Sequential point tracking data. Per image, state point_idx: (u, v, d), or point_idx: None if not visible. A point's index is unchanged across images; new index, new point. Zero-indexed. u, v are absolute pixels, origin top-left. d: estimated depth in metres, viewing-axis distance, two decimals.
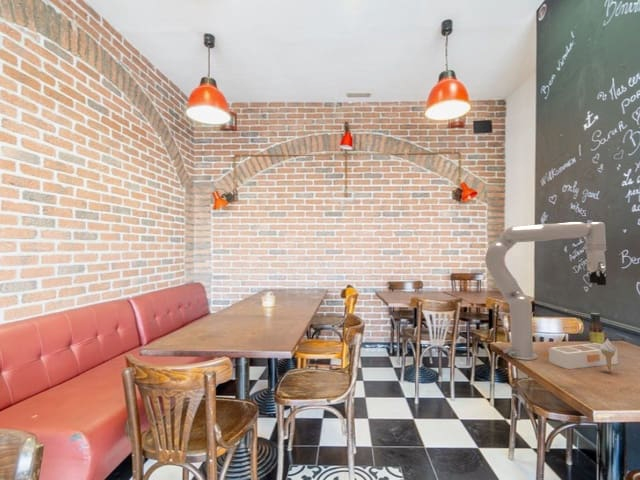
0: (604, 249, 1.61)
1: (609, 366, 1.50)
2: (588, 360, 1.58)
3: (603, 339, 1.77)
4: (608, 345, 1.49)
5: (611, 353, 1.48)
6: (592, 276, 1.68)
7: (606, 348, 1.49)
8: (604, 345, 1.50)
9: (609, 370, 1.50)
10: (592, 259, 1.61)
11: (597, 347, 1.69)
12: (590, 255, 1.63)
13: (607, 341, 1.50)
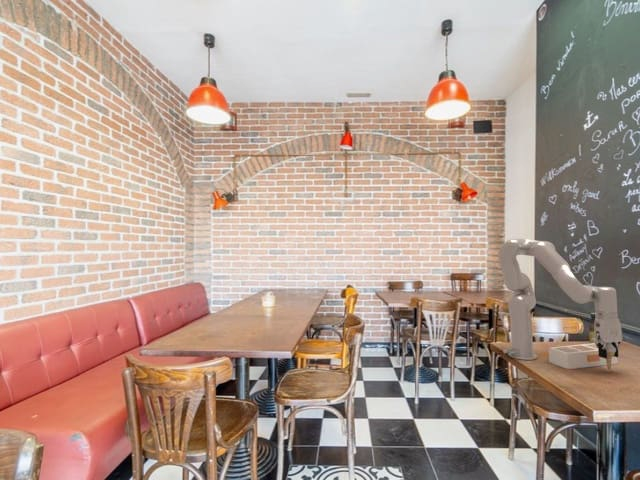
0: None
1: (609, 366, 1.50)
2: (588, 360, 1.58)
3: None
4: (609, 345, 1.49)
5: (611, 353, 1.48)
6: None
7: (606, 348, 1.49)
8: None
9: (609, 370, 1.50)
10: (620, 328, 1.49)
11: (597, 347, 1.69)
12: (616, 324, 1.49)
13: None
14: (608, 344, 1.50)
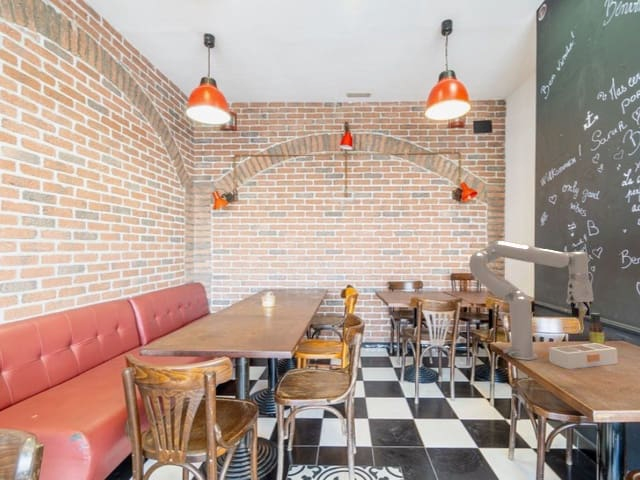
0: None
1: (581, 324, 1.63)
2: (588, 360, 1.58)
3: (603, 339, 1.77)
4: (581, 304, 1.63)
5: (583, 312, 1.62)
6: None
7: (578, 307, 1.63)
8: None
9: (581, 328, 1.63)
10: (591, 288, 1.62)
11: (597, 347, 1.69)
12: (588, 285, 1.62)
13: None
14: (580, 304, 1.63)
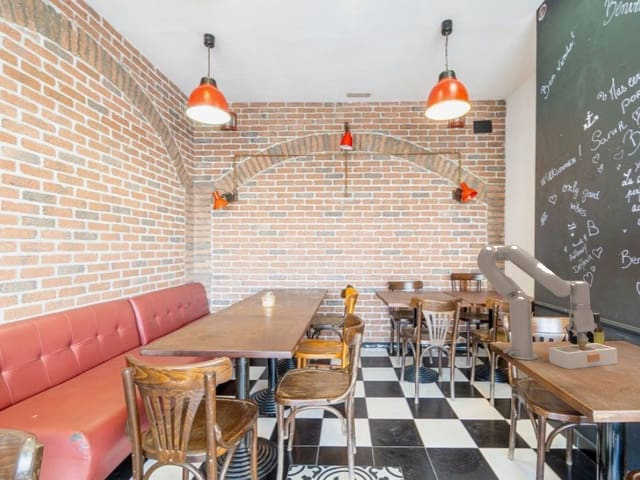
0: None
1: None
2: (588, 360, 1.58)
3: (603, 339, 1.77)
4: (581, 335, 1.63)
5: (584, 342, 1.62)
6: None
7: (579, 338, 1.62)
8: (577, 335, 1.64)
9: None
10: (592, 318, 1.62)
11: (597, 347, 1.69)
12: (589, 315, 1.62)
13: None
14: (581, 334, 1.63)
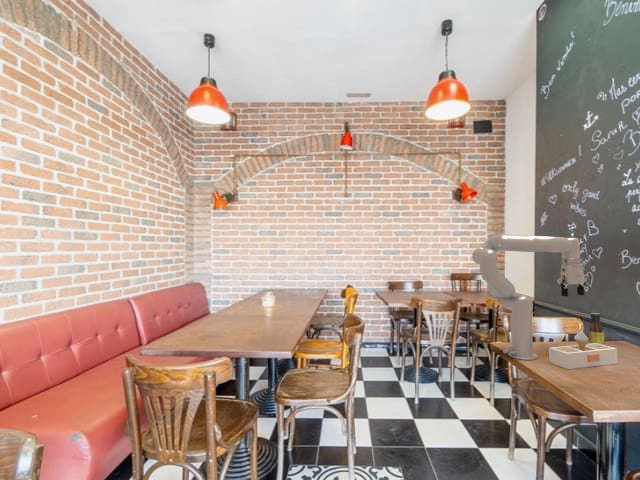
0: None
1: None
2: (588, 360, 1.58)
3: (603, 339, 1.77)
4: (582, 335, 1.62)
5: (584, 342, 1.62)
6: None
7: (579, 338, 1.62)
8: (578, 335, 1.64)
9: None
10: (582, 272, 1.74)
11: (597, 347, 1.69)
12: (579, 269, 1.73)
13: (580, 331, 1.63)
14: (581, 334, 1.63)
